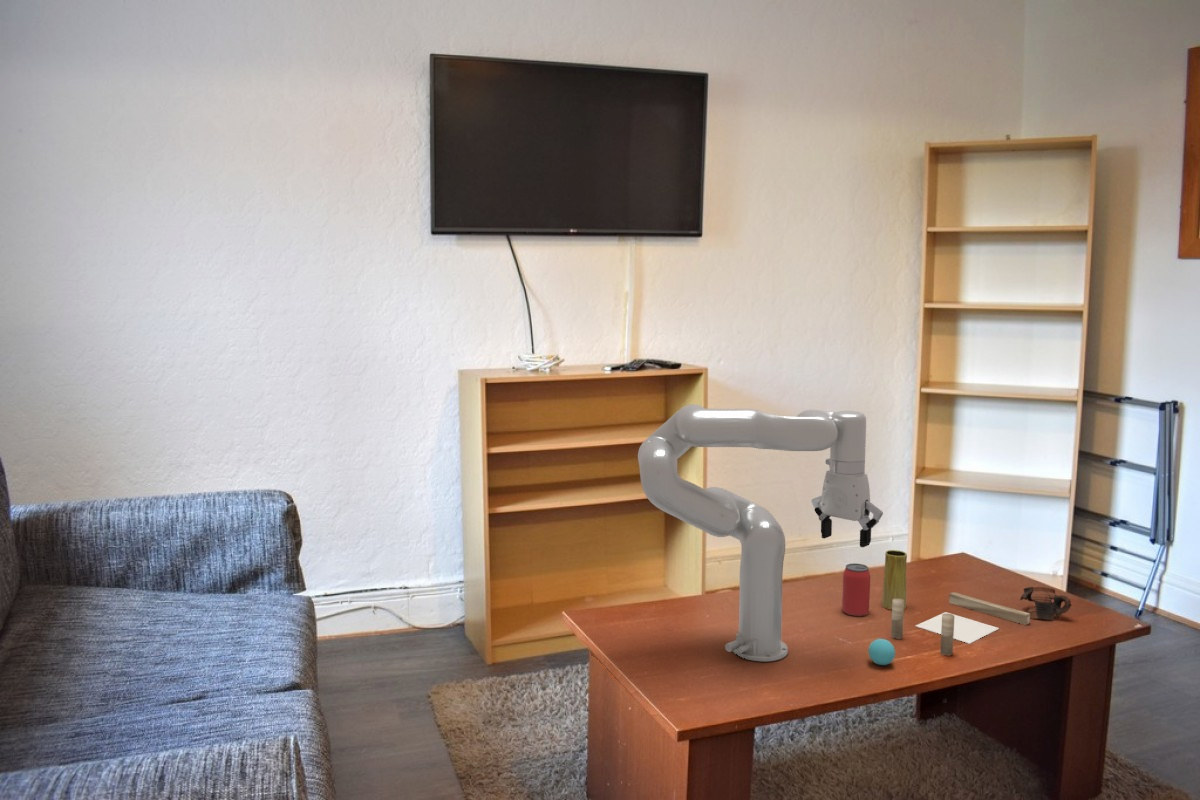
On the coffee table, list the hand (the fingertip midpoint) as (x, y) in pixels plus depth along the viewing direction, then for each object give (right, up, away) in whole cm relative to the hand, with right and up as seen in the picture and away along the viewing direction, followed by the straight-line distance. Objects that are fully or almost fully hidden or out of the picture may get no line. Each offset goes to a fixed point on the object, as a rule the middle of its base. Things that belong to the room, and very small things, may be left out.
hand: (845, 541), depth 206 cm
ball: (+7, -24, -4) cm, 25 cm away
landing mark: (+32, -24, +16) cm, 43 cm away
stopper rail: (+43, -22, +26) cm, 55 cm away
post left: (+15, -24, +11) cm, 31 cm away
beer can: (+10, -22, +27) cm, 36 cm away
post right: (+23, -26, +2) cm, 35 cm away
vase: (+21, -22, +31) cm, 43 cm away
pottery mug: (+57, -23, +25) cm, 66 cm away
